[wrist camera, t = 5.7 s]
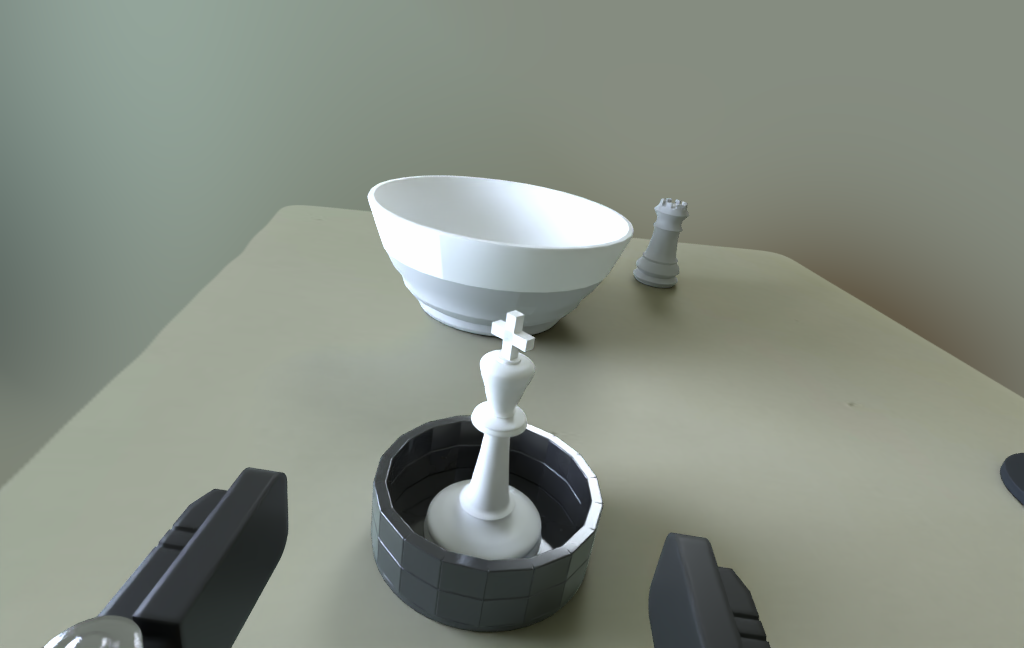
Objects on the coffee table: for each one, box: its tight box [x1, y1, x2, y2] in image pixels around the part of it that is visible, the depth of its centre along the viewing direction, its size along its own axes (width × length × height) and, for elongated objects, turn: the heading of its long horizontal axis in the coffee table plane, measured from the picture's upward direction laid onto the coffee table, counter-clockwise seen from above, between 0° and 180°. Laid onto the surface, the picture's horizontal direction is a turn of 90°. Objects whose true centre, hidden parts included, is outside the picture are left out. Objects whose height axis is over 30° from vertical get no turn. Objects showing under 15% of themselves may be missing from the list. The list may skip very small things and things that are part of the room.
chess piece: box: [424, 310, 541, 560], centre depth 22 cm, size 5×5×10 cm
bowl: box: [368, 176, 634, 336], centre depth 45 cm, size 20×19×8 cm
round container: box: [371, 416, 603, 632], centre depth 24 cm, size 9×9×3 cm
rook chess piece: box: [633, 198, 689, 288], centre depth 57 cm, size 4×4×8 cm
